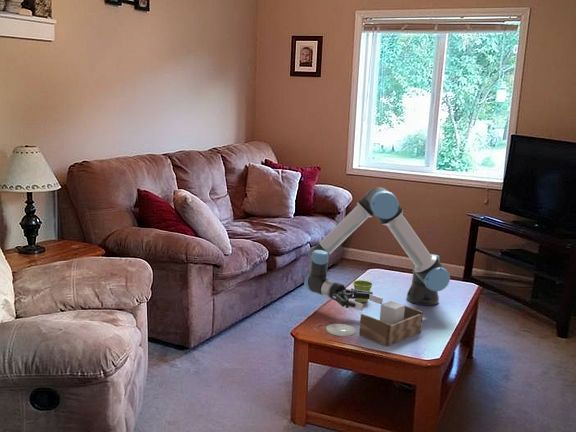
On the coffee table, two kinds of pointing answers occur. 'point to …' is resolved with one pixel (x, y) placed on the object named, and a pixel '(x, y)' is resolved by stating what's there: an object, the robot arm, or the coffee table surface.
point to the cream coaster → (340, 330)
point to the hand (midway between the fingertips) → (372, 304)
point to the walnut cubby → (391, 327)
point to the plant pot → (362, 288)
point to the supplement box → (392, 312)
